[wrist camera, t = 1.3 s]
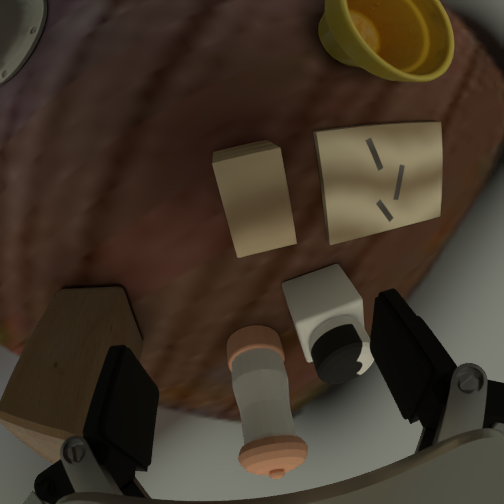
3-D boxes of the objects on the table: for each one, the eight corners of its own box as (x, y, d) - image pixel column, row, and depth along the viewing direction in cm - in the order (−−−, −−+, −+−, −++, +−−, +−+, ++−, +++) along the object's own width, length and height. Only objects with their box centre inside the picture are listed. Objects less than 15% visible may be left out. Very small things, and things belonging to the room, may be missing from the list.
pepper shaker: (248, 366, 39) (267, 488, 22) (215, 342, 36) (223, 481, 19) (289, 343, 37) (326, 469, 21) (259, 316, 34) (292, 463, 17)
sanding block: (213, 151, 24) (212, 163, 19) (266, 139, 24) (280, 147, 19) (233, 228, 28) (237, 258, 23) (281, 216, 28) (296, 243, 23)
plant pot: (377, 102, 23) (441, 108, 14) (284, 57, 20) (322, 31, 12) (400, 28, 19) (462, 15, 10) (316, -19, 16) (358, -61, 7)
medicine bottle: (293, 323, 35) (318, 399, 25) (280, 281, 32) (308, 362, 21) (344, 304, 35) (382, 373, 25) (337, 261, 32) (385, 332, 21)
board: (312, 131, 24) (316, 132, 23) (435, 121, 24) (441, 122, 23) (326, 241, 30) (329, 245, 29) (435, 213, 30) (440, 216, 29)
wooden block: (125, 282, 30) (72, 444, 12) (146, 342, 34) (126, 482, 17) (58, 285, 29) (-11, 416, 11) (85, 341, 33) (47, 463, 16)
